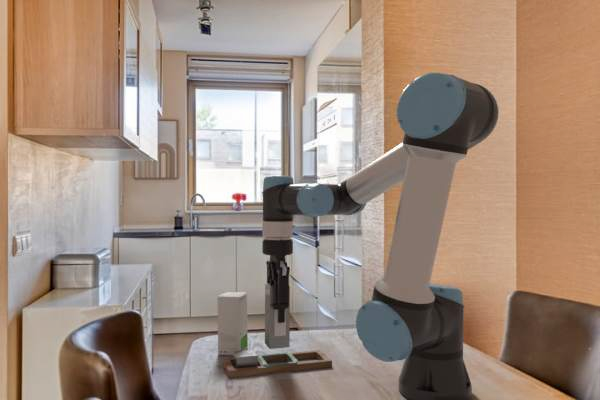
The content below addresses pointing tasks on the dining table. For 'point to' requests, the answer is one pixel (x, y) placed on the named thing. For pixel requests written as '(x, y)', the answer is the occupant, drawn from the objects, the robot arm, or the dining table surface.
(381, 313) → the robot arm
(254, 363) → the grey concrete cube
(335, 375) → the dining table surface
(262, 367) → the wooden holder tray
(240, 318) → the skincare box
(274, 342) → the brushed grey block
